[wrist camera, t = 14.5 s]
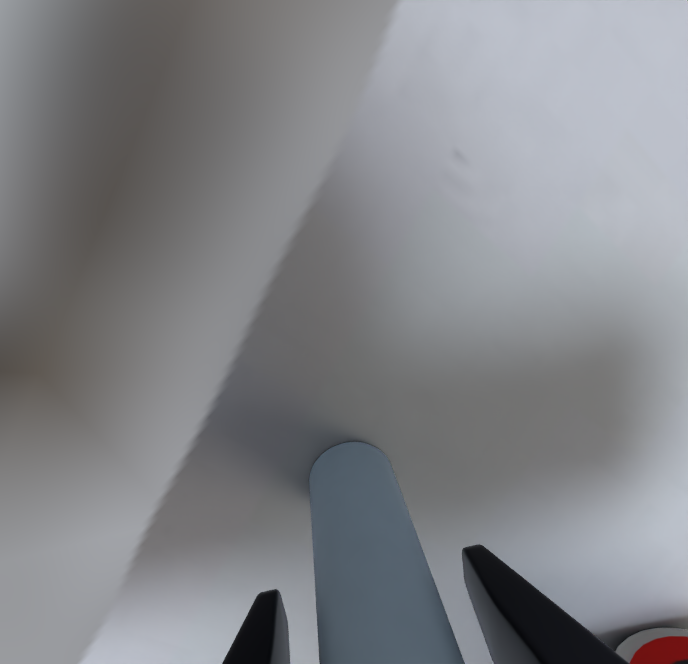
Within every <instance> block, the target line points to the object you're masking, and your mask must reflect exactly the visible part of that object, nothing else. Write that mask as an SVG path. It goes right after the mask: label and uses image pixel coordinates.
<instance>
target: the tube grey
mask: <svg viewBox="0 0 688 664" xmlns="http://www.w3.org/2000/svg"><path fill="white" fill-rule="evenodd" d="M309 487H310V505H311V522H312V539H313V557H314V574H315V591H316V609H317V626H318V643H319V660H320V664H465V663H464V660H463V658H462V655H461V652H460V650H459V647H458V644H457V641H456V639H455V636H454V633H453V631H452V628H451V625H450V623H449V620H448V617H447V614H446V612H445V609H444V606H443V604H442V601H441V598H440V596H439V593H438V590H437V587H436V585H435V582H434V579H433V577H432V574H431V571H430V569H429V566H428V563H427V560H426V558H425V555H424V552H423V550H422V547H421V544H420V542H419V539H418V536H417V533H416V531H415V528H414V525H413V523H412V520H411V517H410V515H409V512H408V509H407V506H406V504H405V501H404V498H403V496H402V493H401V490H400V488H399V485H398V482H397V479H396V477H395V474H394V471H393V469H392V466H391V463H390V461H389V460H388V458H387V457H386V455H385V454H384V453H383V452H382V451H380V450H379V449H378V448H376V447H374V446H372V445H370V444H366V443H362V442H347V443H342V444H339V445H336V446H334V447H332V448H330V449H328V450H327V451H325V452H324V453H323V454H322V455H321V456H320V457H319V458H318V459H317V461H316V462H315V464H314V465H313V467H312V470H311V473H310V477H309Z"/></svg>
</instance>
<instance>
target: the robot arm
mask: <svg viewBox="0 0 688 664" xmlns="http://www.w3.org/2000/svg"><path fill="white" fill-rule="evenodd" d="M462 561H463V572H464V580H465V584H466V588H467V591H468V594H469V596H470V599H471V602H472V605H473V608H474V610H475V613H476V616H477V619H478V621H479V624H480V627H481V630H482V632H483V635H484V638H485V641H486V644H487V646H488V649H489V652H490V655H491V657H492V660H493V663H494V664H630V663H628V662H627V661H626V660H625V659H623V658H622V657H621V656H620V655H618V654H617V653H616V652H615V651H613V650H612V649H611V648H610V647H608V646H607V645H606V644H605V643H603V642H602V641H601V640H600V639H598V638H597V637H596V636H595V635H593V634H592V633H591V632H590V631H588V630H587V629H586V628H585V627H583V626H582V625H581V624H580V623H579V622H577V621H576V620H575V619H574V618H572V617H571V616H570V615H569V614H567V613H566V612H565V611H564V610H562V609H561V608H560V607H559V606H557V605H556V604H555V603H554V602H552V601H551V600H550V599H549V598H547V597H546V596H545V595H544V594H542V593H541V592H540V591H539V590H537V589H536V588H535V587H534V586H532V585H531V584H530V583H529V582H527V581H526V580H525V579H524V578H523V577H521V576H520V575H519V574H518V573H516V572H515V571H514V570H513V569H511V568H510V567H509V566H508V565H506V564H505V563H504V562H503V561H501V560H500V559H499V558H498V557H496V556H495V555H494V554H493V553H491V552H490V551H489V550H488V549H486V548H485V547H484V546H482V545H474V546H469V547H465V548H463V550H462ZM222 664H290V651H289V631H288V622H287V617H286V613H285V609H284V605H283V602H282V598H281V594H280V592H279V590H277V589H274V590H269V591H265V592H261V593H259V594H258V596H257V597H256V599H255V601H254V603H253V605H252V607H251V609H250V611H249V613H248V615H247V617H246V619H245V620H244V622H243V624H242V626H241V628H240V630H239V632H238V634H237V636H236V638H235V640H234V642H233V644H232V646H231V648H230V650H229V652H228V654H227V655H226V657H225V659H224V661H223V663H222Z"/></svg>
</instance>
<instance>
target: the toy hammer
mask: <svg viewBox="0 0 688 664" xmlns="http://www.w3.org/2000/svg"><path fill="white" fill-rule="evenodd" d="M615 652H616V653H617V654H618V655H620V656H621V657H622V658H623V659H625V660H626V661H627V662H628V663H630V664H688V630H685V629H680V628H654V629H649V630H643V631H640V632H638V633H636V634H634V635H632V636H630V637H628V638H627V639H626V640H625V641H624V642H622V643H621V644H620V645H619V646H618V647H617V649H616V651H615Z"/></svg>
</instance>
